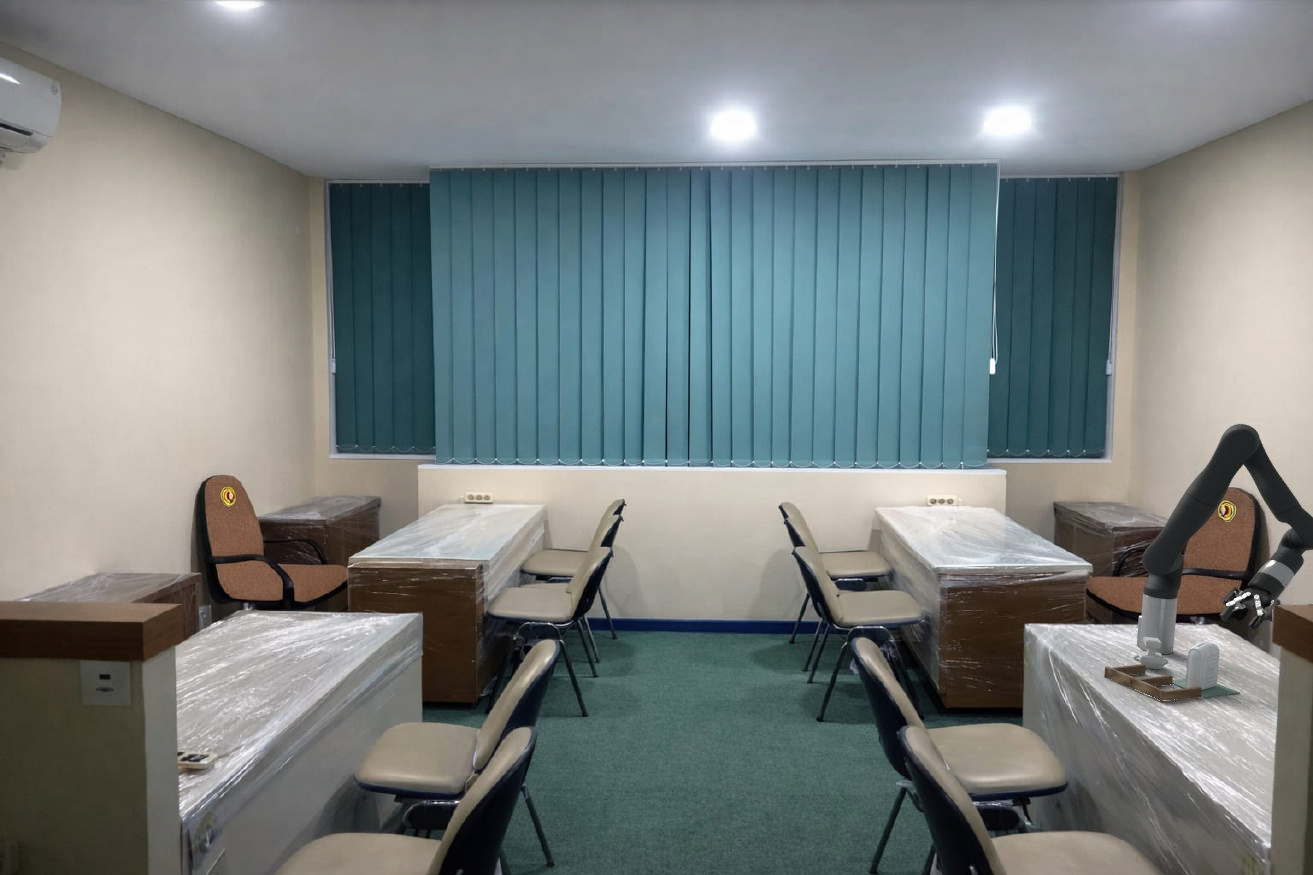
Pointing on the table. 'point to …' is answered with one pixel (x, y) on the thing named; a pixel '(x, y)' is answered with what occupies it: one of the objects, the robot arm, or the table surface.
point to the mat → (1209, 689)
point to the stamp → (1151, 654)
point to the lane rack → (1149, 683)
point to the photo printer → (1202, 666)
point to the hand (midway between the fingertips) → (1236, 623)
